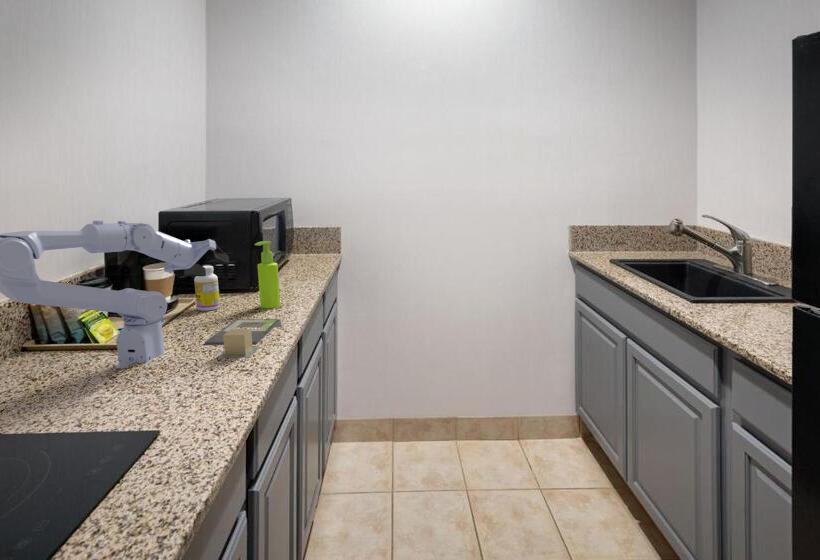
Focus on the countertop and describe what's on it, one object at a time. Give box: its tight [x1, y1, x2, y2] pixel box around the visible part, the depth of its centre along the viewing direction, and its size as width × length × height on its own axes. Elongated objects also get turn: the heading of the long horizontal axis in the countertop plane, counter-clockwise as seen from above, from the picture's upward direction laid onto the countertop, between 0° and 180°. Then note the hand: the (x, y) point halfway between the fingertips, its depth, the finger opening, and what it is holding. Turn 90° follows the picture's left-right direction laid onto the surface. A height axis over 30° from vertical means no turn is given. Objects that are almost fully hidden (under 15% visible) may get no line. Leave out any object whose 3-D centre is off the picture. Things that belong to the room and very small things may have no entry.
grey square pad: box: [216, 346, 261, 359], centre depth 119 cm, size 7×7×2 cm
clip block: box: [223, 328, 254, 356], centre depth 118 cm, size 4×4×4 cm
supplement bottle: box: [193, 265, 221, 312], centre depth 165 cm, size 7×7×13 cm
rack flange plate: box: [204, 318, 282, 345], centre depth 135 cm, size 20×12×2 cm, turn 178°
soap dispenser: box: [254, 240, 281, 309], centre depth 166 cm, size 6×7×20 cm
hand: (216, 266), depth 134 cm, fingers open, 7 cm apart
